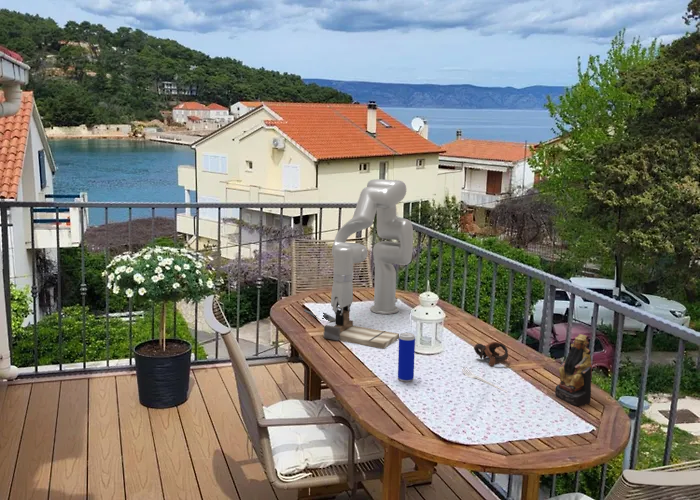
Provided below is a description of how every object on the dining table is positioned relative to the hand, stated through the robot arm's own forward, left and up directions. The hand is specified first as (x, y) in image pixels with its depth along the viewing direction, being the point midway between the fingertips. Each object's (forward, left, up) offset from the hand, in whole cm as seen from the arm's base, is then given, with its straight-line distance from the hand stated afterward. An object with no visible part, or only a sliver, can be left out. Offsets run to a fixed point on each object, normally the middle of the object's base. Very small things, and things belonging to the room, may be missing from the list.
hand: (342, 322), depth 250 cm
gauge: (+1, 0, -4) cm, 5 cm away
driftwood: (-18, -20, -6) cm, 28 cm away
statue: (+19, +92, -5) cm, 94 cm away
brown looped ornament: (-1, +60, -5) cm, 60 cm away
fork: (+19, +64, -6) cm, 67 cm away
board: (0, +9, -5) cm, 10 cm away
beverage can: (+30, +41, -5) cm, 51 cm away
